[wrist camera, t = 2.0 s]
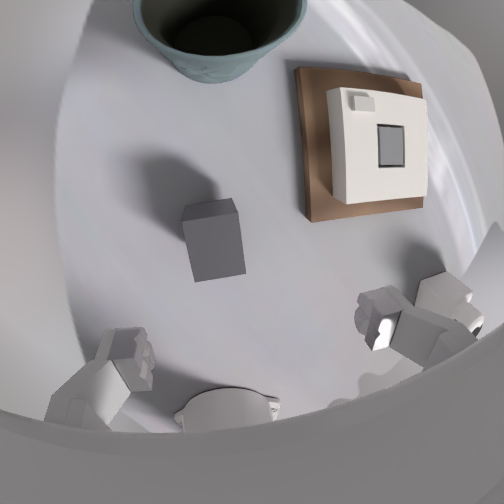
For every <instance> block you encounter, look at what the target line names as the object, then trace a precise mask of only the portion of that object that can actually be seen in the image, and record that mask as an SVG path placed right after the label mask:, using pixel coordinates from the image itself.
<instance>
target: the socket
mask: <svg viewBox="0 0 504 504" xmlns="http://www.w3.org/2000/svg"><path fill="white" fill-rule="evenodd" d="M326 95H327V104H328V115H329V127H330V141H331V158H332V183H333V197H334V198H336V199H338V200H340V201H341V202H343V203H345V204H353V203H362V202H371V201H380V200H390V199H400V198H410V197H421V196H427V183H428V120H427V105H426V99H421V98H416V97H411V96H406V95H400V94H394V93H388V92H381V91H374V90H365V89H355V88H344V87H339V88H336V89H332V90H328V91H326ZM377 127H392V128H402V133H403V165H378V136H377Z"/></svg>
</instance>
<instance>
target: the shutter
mask: <svg viewBox="0 0 504 504" xmlns="http://www.w3.org/2000/svg"><path fill="white" fill-rule="evenodd" d="M377 136H378V165H403V133H402V128H392V127H377Z"/></svg>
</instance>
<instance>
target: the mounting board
mask: <svg viewBox="0 0 504 504" xmlns="http://www.w3.org/2000/svg"><path fill="white" fill-rule="evenodd" d="M294 71H295V79H296V87H297V96H298V105H299V114H300V125H301V136H302V148H303V162H304V177H305V195H306V218H307V219H308V220H309V221H310V222H311V223H313V222H320V221H327V220H333V219H340V218H348V217H355V216H362V215H369V214H377V213H384V212H392V211H400V210H408V209H416V208H423V197H424V196H421V197H410V198H400V199H390V200H380V201H371V202H362V203H353V204H345V203H343V202H341V201H340V200H338V199H336V198H334V197H333V183H332V158H331V141H330V127H329V115H328V104H327V95H326V91H328V90H332V89H336V88H339V87H344V88H355V89H365V90H374V91H381V92H388V93H394V94H400V95H406V96H411V97H416V98H421V99H423V96H422V87H421V84H420V83H416V82H412V81H408V80H403V79H399V78H394V77H388V76H383V75H377V74H371V73H364V72H357V71H348V70H339V69H327V68H310V67H299V68H297V69H296V70H294Z"/></svg>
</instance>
